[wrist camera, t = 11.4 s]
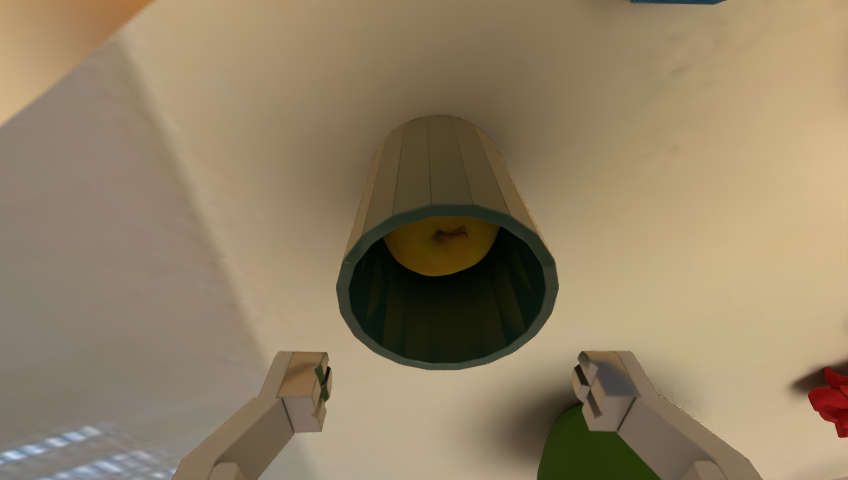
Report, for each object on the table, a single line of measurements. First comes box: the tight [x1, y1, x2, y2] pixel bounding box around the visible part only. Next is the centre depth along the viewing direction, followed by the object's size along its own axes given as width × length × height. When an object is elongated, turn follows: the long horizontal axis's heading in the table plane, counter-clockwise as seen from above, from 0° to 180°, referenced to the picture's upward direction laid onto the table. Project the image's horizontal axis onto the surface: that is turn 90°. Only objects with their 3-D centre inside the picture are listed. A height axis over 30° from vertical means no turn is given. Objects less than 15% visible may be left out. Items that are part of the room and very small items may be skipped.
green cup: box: [336, 115, 559, 370], centre depth 19 cm, size 9×9×11 cm
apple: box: [384, 217, 500, 276], centre depth 20 cm, size 6×6×8 cm
